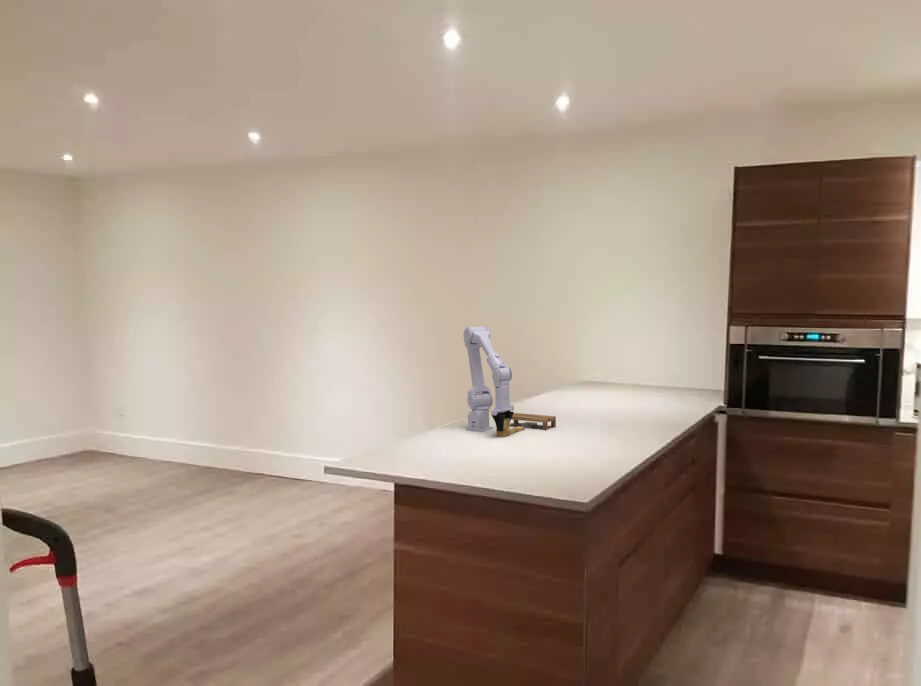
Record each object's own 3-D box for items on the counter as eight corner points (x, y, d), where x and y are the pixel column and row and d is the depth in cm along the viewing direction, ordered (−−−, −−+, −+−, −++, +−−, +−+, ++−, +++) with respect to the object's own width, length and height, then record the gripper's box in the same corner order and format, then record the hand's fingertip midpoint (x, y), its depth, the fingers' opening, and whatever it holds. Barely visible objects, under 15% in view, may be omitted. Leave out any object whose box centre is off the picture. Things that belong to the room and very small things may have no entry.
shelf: (545, 430, 314) (545, 419, 313) (505, 426, 325) (504, 415, 325) (555, 426, 321) (555, 416, 321) (515, 422, 332) (515, 412, 332)
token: (531, 429, 319) (531, 424, 319) (521, 428, 322) (521, 423, 321) (537, 427, 323) (536, 422, 323) (526, 426, 326) (526, 421, 326)
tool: (504, 437, 302) (504, 419, 301) (496, 436, 304) (496, 419, 304) (525, 429, 316) (525, 413, 315) (517, 429, 318) (517, 412, 318)
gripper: (501, 400, 295) (502, 434, 296) (519, 395, 307) (520, 428, 308) (486, 399, 299) (487, 432, 300) (505, 394, 311) (505, 426, 312)
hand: (503, 430), depth 304 cm, fingers closed on tool, 4 cm apart
